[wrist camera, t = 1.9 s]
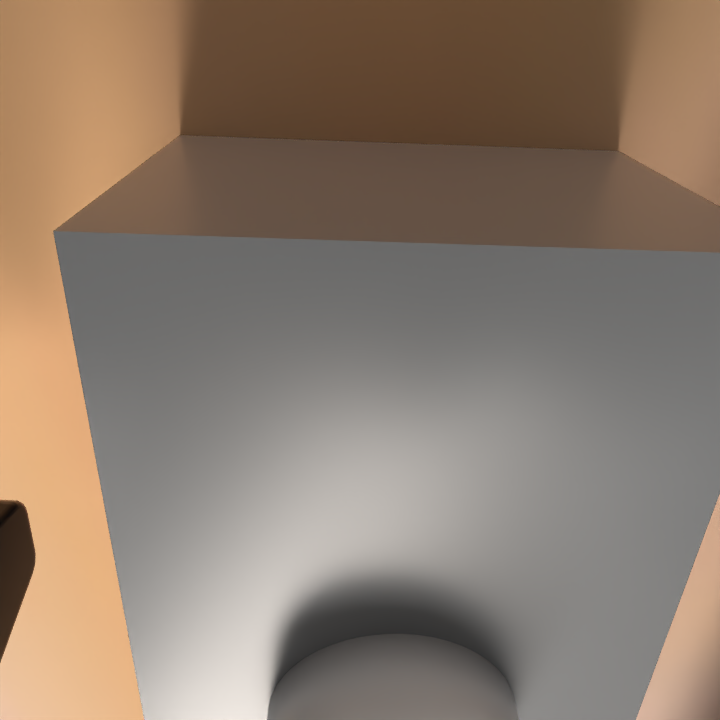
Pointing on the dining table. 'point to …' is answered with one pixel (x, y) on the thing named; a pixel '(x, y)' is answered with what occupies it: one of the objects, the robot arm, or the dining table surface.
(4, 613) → the robot arm
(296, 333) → the housing
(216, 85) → the dining table surface
